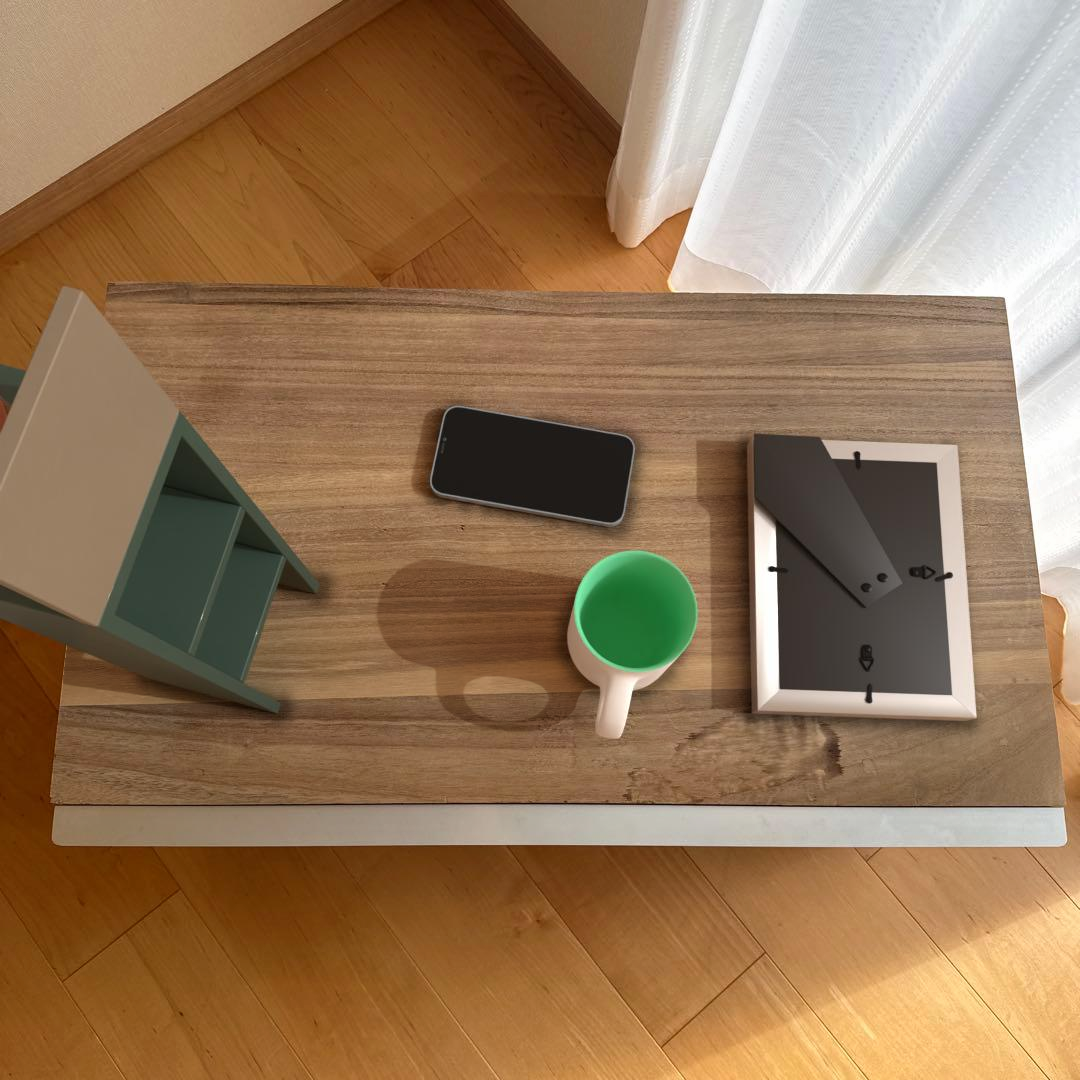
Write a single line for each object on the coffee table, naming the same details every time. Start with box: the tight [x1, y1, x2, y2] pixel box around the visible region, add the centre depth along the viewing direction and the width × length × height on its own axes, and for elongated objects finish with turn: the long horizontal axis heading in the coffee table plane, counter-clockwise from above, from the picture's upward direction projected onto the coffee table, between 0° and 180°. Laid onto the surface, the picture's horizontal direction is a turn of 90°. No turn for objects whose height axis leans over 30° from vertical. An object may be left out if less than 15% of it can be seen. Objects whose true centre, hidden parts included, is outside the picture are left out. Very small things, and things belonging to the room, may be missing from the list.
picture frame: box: [746, 433, 978, 722], centre depth 81 cm, size 16×3×21 cm
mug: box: [566, 550, 699, 740], centre depth 75 cm, size 12×8×10 cm, turn 172°
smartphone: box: [429, 405, 636, 528], centre depth 84 cm, size 7×1×15 cm
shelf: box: [0, 285, 321, 715], centre depth 58 cm, size 10×10×46 cm
